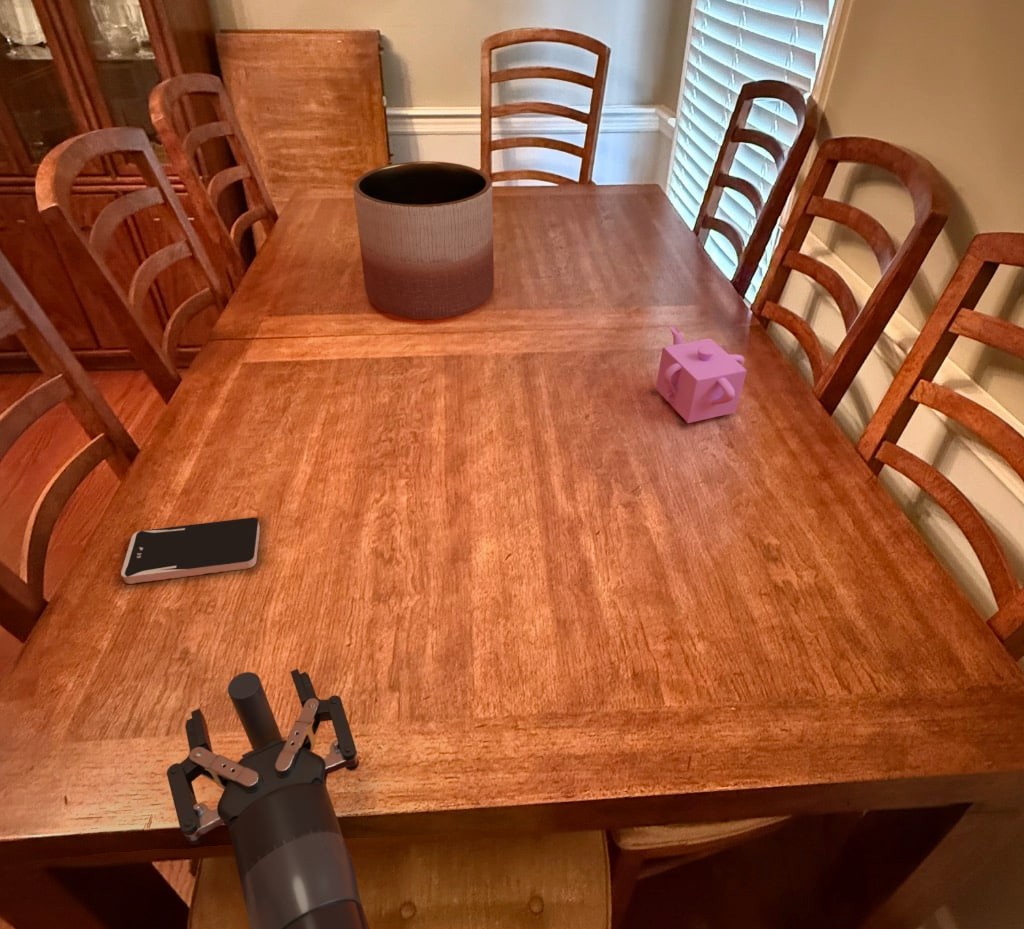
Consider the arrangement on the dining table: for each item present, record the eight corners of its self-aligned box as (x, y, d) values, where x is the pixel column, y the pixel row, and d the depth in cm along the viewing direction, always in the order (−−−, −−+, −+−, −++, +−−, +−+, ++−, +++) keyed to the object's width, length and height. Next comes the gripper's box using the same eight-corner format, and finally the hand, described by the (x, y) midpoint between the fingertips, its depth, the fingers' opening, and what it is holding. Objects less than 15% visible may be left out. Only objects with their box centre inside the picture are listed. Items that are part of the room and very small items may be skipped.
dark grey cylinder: (275, 777, 64) (244, 703, 57) (253, 765, 65) (220, 691, 58) (293, 753, 66) (266, 678, 59) (272, 741, 67) (243, 667, 59)
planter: (360, 274, 146) (345, 165, 132) (478, 262, 151) (475, 156, 137) (374, 332, 127) (359, 212, 113) (508, 316, 133) (509, 200, 118)
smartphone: (253, 560, 83) (119, 578, 81) (256, 568, 84) (123, 585, 81) (258, 516, 89) (133, 531, 86) (260, 524, 90) (136, 539, 87)
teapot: (629, 380, 116) (637, 326, 110) (701, 365, 120) (713, 312, 113) (685, 443, 103) (698, 385, 97) (764, 424, 107) (781, 368, 100)
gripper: (382, 799, 51) (319, 637, 62) (178, 902, 46) (148, 705, 57) (392, 841, 56) (332, 684, 67) (209, 938, 51) (176, 751, 62)
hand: (247, 694), depth 62 cm, fingers open, 8 cm apart
